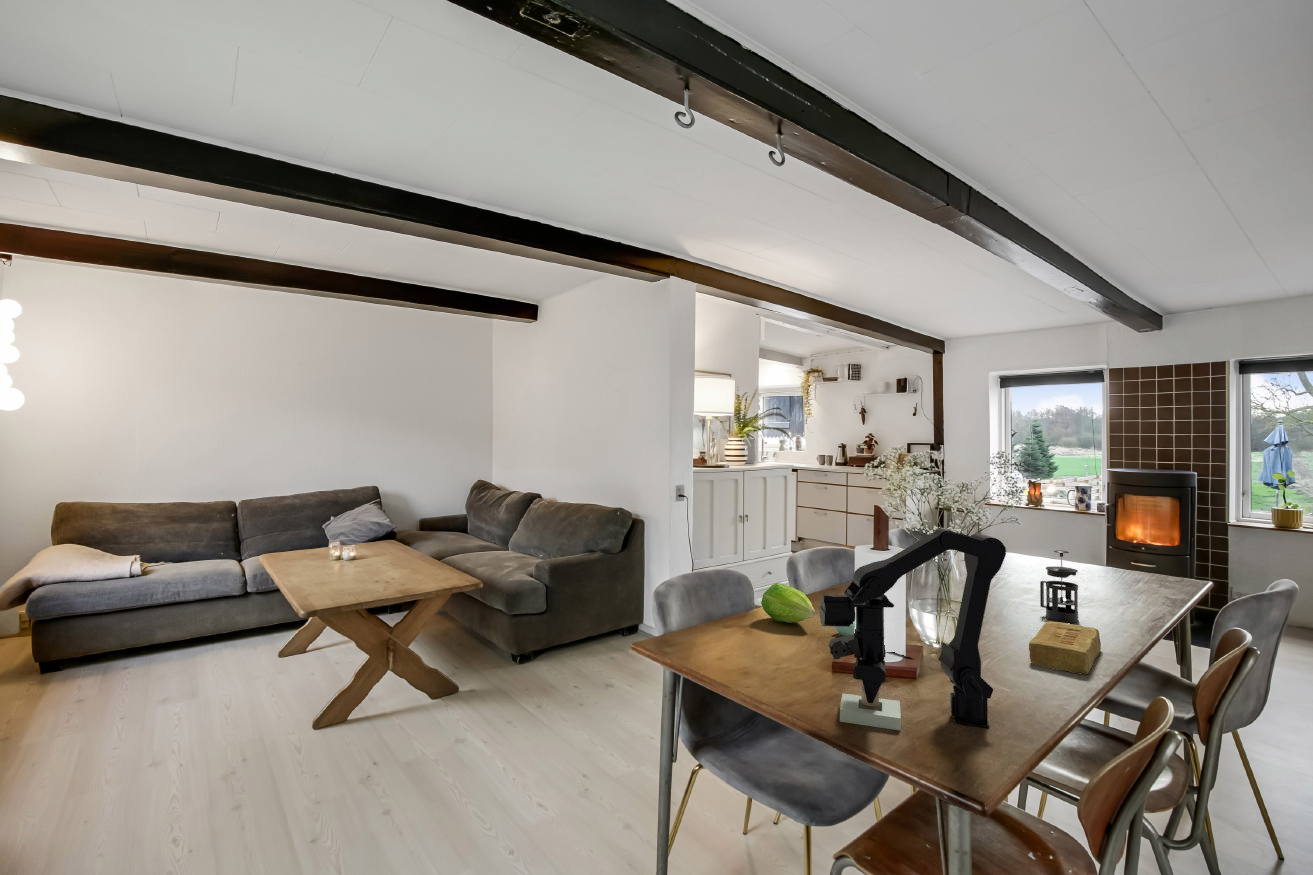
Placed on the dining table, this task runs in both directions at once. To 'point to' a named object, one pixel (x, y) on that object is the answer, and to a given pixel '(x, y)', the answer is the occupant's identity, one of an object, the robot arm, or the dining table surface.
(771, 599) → the lettuce
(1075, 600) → the french press
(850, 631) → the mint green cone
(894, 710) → the board
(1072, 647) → the brick
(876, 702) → the peg
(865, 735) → the dining table surface
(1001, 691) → the dining table surface
